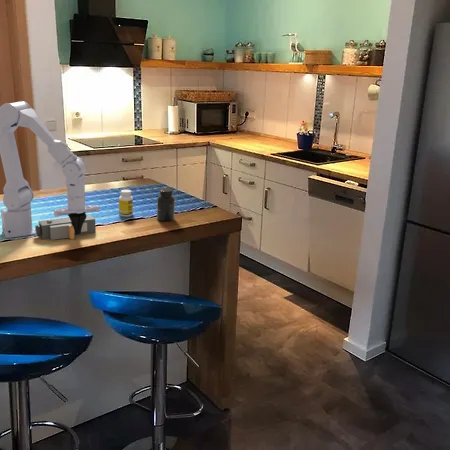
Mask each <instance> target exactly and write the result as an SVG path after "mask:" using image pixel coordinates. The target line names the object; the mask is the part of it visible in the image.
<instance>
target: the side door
mask: <svg viewBox="0 0 450 450" xmlns="http://www.w3.org/2000/svg"><path fill="white" fill-rule="evenodd" d="M68 238H69V240H74V239H75V235H74V227H73V225H72V224H71V223H70V224H62V225H54V226H50V239H49V240H52V241H53V240H61V239H68Z"/></svg>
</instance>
